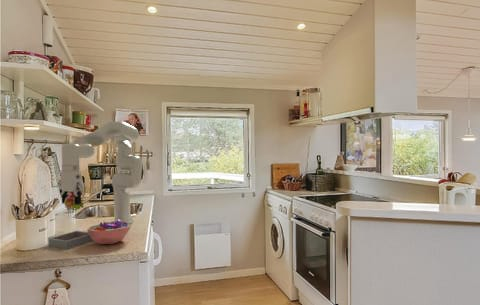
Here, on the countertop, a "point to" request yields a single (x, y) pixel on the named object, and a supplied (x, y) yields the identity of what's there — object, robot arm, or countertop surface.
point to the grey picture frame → (70, 239)
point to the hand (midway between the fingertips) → (71, 203)
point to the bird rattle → (72, 202)
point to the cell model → (109, 232)
